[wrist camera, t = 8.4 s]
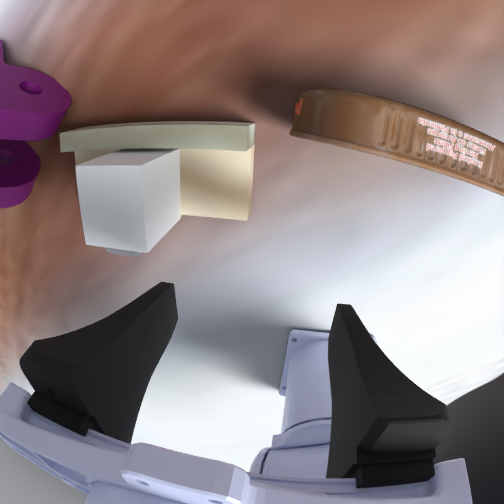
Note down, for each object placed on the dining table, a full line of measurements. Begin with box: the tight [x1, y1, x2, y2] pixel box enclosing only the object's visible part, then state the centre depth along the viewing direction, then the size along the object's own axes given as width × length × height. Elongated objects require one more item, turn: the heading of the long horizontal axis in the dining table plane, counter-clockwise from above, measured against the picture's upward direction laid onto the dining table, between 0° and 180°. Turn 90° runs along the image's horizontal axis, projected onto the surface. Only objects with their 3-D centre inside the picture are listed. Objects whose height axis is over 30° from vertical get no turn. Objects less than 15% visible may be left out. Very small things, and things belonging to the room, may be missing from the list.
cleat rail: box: [60, 121, 256, 221], centre depth 20 cm, size 6×14×3 cm, turn 87°
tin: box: [289, 89, 504, 196], centre depth 14 cm, size 15×3×8 cm, turn 83°
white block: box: [75, 148, 181, 258], centre depth 19 cm, size 6×4×6 cm
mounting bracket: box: [0, 40, 71, 208], centre depth 19 cm, size 10×8×18 cm
